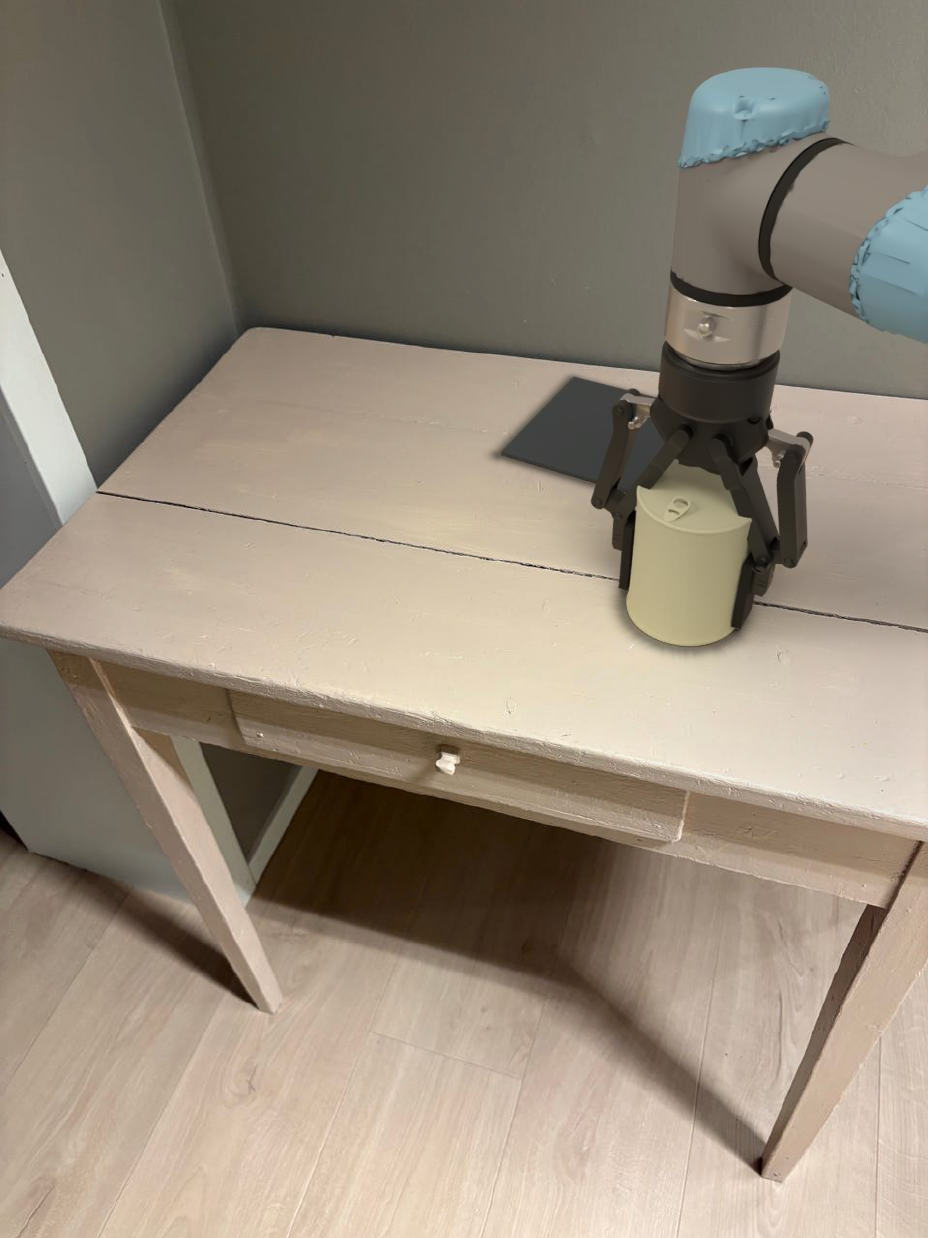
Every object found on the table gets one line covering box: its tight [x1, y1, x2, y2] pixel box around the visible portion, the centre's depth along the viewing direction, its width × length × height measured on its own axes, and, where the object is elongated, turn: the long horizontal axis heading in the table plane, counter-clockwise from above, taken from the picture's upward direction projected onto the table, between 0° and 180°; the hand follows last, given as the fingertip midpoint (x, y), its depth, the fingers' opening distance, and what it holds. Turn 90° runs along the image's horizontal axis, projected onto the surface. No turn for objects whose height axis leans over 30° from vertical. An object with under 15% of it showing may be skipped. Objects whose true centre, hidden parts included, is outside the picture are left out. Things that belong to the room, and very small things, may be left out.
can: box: [625, 459, 752, 647], centre depth 74 cm, size 9×9×12 cm
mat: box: [500, 376, 676, 493], centre depth 96 cm, size 20×16×1 cm
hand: (684, 597), depth 78 cm, fingers closed on can, 9 cm apart
